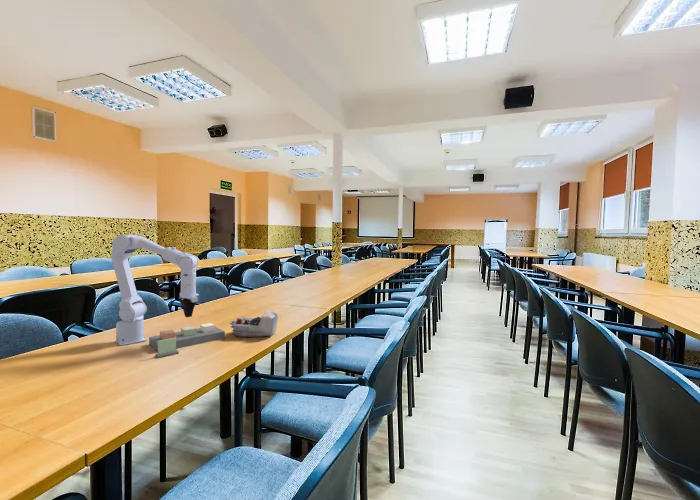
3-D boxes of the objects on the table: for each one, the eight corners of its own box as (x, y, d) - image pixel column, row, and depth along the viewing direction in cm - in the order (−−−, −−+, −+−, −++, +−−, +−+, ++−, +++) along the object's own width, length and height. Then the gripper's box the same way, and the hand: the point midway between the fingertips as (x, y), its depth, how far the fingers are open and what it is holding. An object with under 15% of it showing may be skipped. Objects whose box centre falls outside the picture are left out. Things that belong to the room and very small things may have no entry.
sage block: (184, 340, 139) (184, 330, 139) (180, 337, 142) (180, 328, 142) (195, 337, 142) (195, 328, 142) (191, 335, 145) (191, 326, 145)
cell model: (274, 314, 147) (227, 315, 146) (274, 338, 148) (228, 339, 147) (278, 307, 160) (236, 308, 159) (279, 330, 161) (236, 330, 160)
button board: (158, 352, 129) (158, 344, 129) (149, 344, 137) (149, 337, 137) (224, 338, 147) (224, 331, 147) (213, 332, 156) (213, 325, 155)
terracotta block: (163, 344, 133) (163, 334, 133) (159, 341, 136) (159, 331, 136) (175, 341, 136) (175, 332, 136) (171, 339, 140) (171, 329, 139)
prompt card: (158, 358, 123) (157, 342, 122) (155, 355, 125) (155, 340, 125) (178, 353, 128) (178, 338, 127) (175, 351, 130) (175, 336, 130)
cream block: (204, 336, 145) (204, 326, 144) (200, 333, 148) (200, 324, 148) (214, 334, 148) (214, 325, 148) (210, 331, 151) (210, 323, 151)
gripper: (205, 285, 139) (205, 318, 139) (191, 281, 149) (191, 312, 150) (187, 287, 134) (187, 321, 134) (174, 282, 144) (174, 314, 145)
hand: (188, 316), depth 142 cm, fingers closed
